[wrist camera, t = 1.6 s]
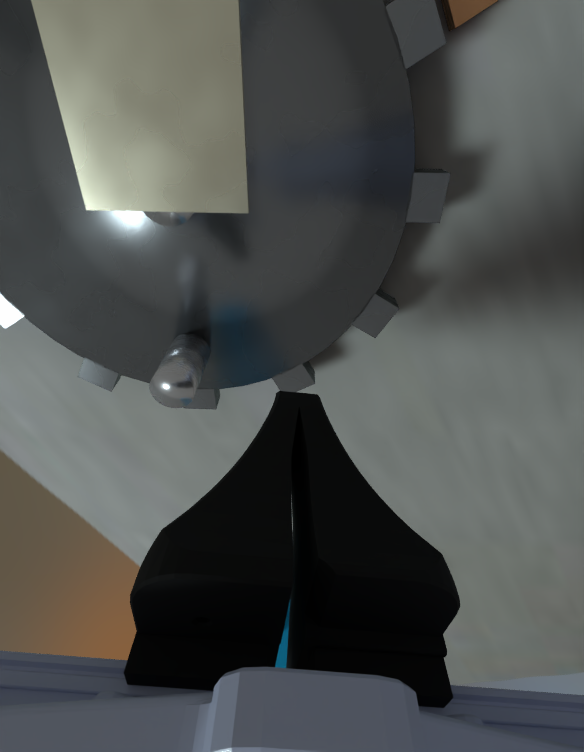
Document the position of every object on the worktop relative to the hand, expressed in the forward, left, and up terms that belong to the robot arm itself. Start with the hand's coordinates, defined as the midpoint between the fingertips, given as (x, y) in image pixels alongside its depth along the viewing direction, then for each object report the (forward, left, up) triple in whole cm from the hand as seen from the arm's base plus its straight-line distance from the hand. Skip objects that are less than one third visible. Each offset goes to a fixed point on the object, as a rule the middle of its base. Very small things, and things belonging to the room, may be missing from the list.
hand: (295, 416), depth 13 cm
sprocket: (+1, -7, -6) cm, 9 cm away
